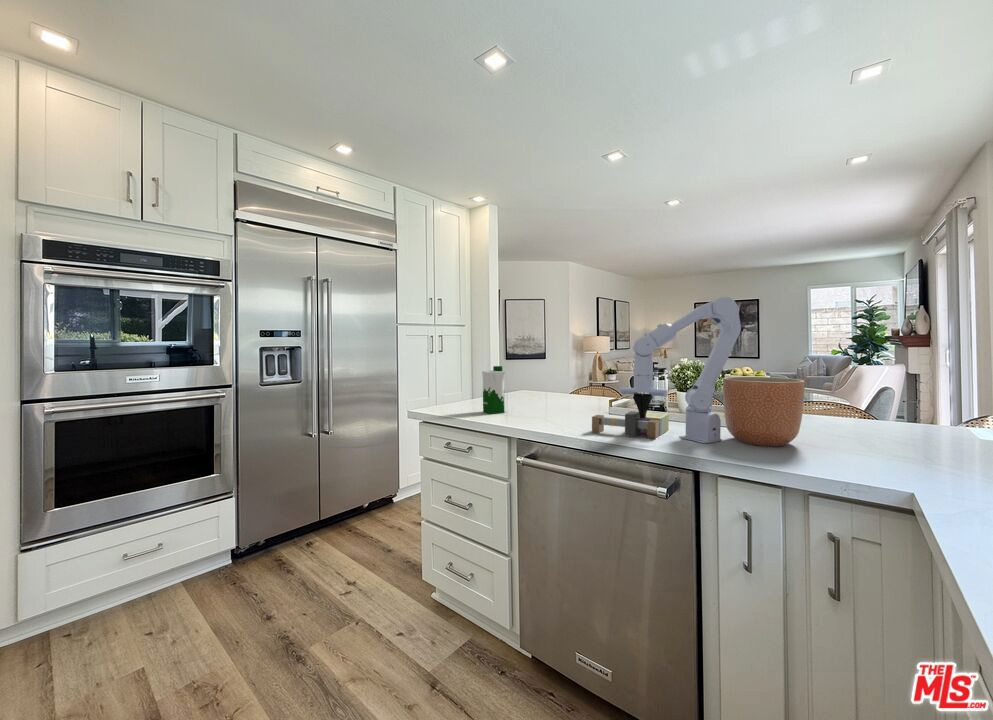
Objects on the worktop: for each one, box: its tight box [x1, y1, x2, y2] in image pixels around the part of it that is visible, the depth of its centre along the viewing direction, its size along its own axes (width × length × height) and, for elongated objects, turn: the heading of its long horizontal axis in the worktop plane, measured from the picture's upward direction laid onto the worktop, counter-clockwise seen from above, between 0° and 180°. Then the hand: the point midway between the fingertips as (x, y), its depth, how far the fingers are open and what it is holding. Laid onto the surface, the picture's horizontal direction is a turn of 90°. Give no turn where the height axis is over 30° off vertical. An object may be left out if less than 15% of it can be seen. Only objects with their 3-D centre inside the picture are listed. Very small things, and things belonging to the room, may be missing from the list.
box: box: [639, 411, 670, 436], centre depth 147 cm, size 10×6×12 cm
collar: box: [624, 411, 641, 438], centre depth 141 cm, size 3×7×7 cm, turn 148°
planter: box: [722, 376, 806, 447], centre depth 130 cm, size 21×21×19 cm
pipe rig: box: [591, 414, 659, 440], centre depth 142 cm, size 20×5×5 cm, turn 58°
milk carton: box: [481, 365, 506, 415], centre depth 189 cm, size 9×9×20 cm
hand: (642, 417), depth 139 cm, fingers closed
